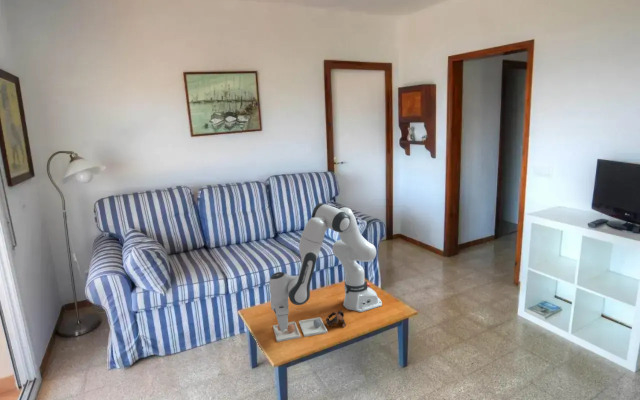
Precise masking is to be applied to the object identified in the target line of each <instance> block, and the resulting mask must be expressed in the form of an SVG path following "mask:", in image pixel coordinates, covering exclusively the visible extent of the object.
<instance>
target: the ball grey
mask: <svg viewBox="0 0 640 400" xmlns="http://www.w3.org/2000/svg"><path fill="white" fill-rule="evenodd" d="M313 324H314V326H315V327H320V325H321V321H320V320H318V319H316V320H315V321H314V323H313Z"/></svg>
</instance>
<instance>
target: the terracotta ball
mask: <svg viewBox="0 0 640 400" xmlns="http://www.w3.org/2000/svg"><path fill="white" fill-rule="evenodd" d="M287 330H288V331H289V332H293V331H294V330H295V326H294V325H293V324H289V325H288V328H287Z"/></svg>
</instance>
